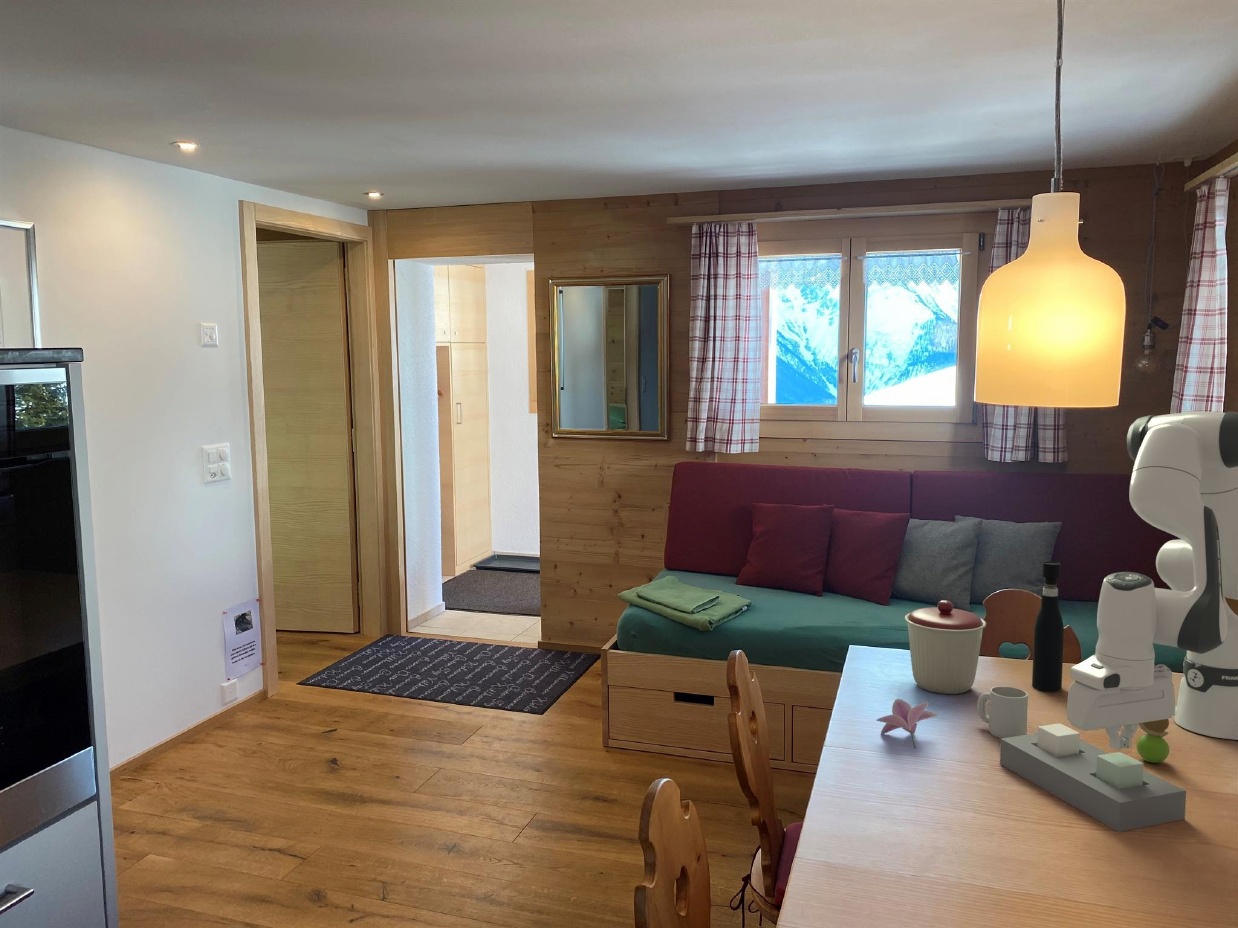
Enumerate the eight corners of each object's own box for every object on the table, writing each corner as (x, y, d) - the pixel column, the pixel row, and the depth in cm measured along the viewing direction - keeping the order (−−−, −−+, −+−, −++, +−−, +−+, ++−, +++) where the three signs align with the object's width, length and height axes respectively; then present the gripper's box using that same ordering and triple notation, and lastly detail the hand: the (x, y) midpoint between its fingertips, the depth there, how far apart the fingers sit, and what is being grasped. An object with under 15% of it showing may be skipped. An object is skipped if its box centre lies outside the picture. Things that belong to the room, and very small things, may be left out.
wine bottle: (1066, 691, 217) (1071, 565, 214) (1038, 692, 217) (1043, 565, 214) (1054, 682, 224) (1059, 560, 221) (1027, 682, 224) (1031, 560, 221)
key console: (1059, 754, 182) (1060, 729, 182) (1184, 818, 156) (1186, 790, 155) (999, 763, 178) (1000, 738, 178) (1118, 831, 152) (1119, 802, 151)
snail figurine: (1135, 751, 183) (1138, 692, 182) (1172, 761, 179) (1175, 700, 177) (1126, 760, 179) (1129, 699, 178) (1163, 770, 175) (1166, 708, 174)
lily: (947, 744, 190) (933, 697, 194) (941, 742, 180) (927, 692, 184) (888, 755, 194) (876, 709, 198) (879, 753, 184) (867, 704, 188)
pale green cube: (1118, 779, 163) (1119, 751, 163) (1142, 791, 158) (1143, 763, 158) (1095, 783, 162) (1096, 755, 161) (1118, 795, 157) (1120, 767, 156)
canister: (977, 677, 228) (980, 593, 226) (989, 703, 210) (992, 612, 208) (900, 672, 232) (902, 589, 230) (906, 697, 215) (908, 608, 212)
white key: (1058, 748, 176) (1059, 723, 176) (1078, 758, 172) (1079, 732, 171) (1036, 752, 175) (1037, 726, 174) (1056, 762, 170) (1057, 736, 170)
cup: (1019, 743, 188) (1021, 700, 187) (970, 731, 194) (971, 689, 194) (1031, 732, 193) (1032, 691, 192) (982, 721, 200) (984, 680, 199)
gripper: (1155, 657, 164) (1152, 733, 165) (1062, 669, 158) (1058, 748, 159) (1187, 668, 158) (1183, 747, 159) (1091, 681, 152) (1087, 762, 153)
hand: (1120, 747), depth 159 cm, fingers closed
